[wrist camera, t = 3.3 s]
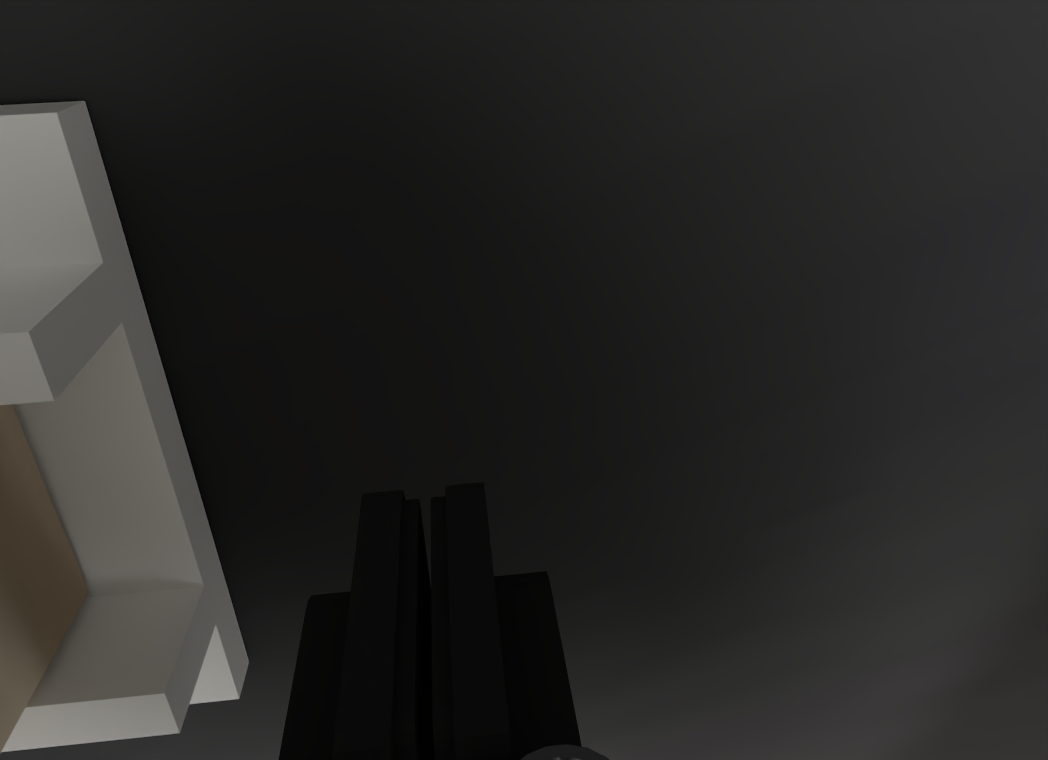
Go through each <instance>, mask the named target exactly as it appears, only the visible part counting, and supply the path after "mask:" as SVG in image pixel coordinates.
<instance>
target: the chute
mask: <svg viewBox="0 0 1048 760" xmlns="http://www.w3.org/2000/svg"><path fill="white" fill-rule="evenodd" d="M10 404H12V406H13V408H14V411H15V413H16V416H17V418H18V421H19V423H20V425H21V428H22V430H23V433H24V435H25V438H26V440H27V443H28V445H29V447H30V450H31V452H32V455H33V457H34V460H35V462H36V465H37V467H38V470H39V472H40V474H41V477H42V479H43V482H44V484H45V487H46V489H47V492H48V494H49V496H50V499H51V501H52V504H53V506H54V509H55V511H56V514H57V516H58V518H59V521H60V523H61V526H62V528H63V531H64V533H65V536H66V538H67V541H68V543H69V545H70V548H71V550H72V553H73V555H74V558H75V560H76V563H77V565H78V567H79V570H80V572H81V575H82V577H83V580H84V582H85V585H86V587H87V590H88V594H87V596H86V598H85V600H84V601H83V603H82V605H81V607H80V609H79V611H78V612H77V614H76V616H75V618H74V620H73V622H72V623H71V625H70V627H69V629H68V631H67V633H66V634H65V636H64V638H63V640H62V642H61V644H60V645H59V647H58V649H57V651H56V653H55V655H54V656H53V658H52V660H51V662H50V664H49V665H48V667H47V669H46V671H45V673H44V675H43V676H42V678H41V680H40V682H39V684H38V686H37V687H36V689H35V691H34V693H33V695H32V697H31V698H30V700H29V702H28V704H27V706H26V708H25V709H24V711H23V713H22V715H21V717H20V719H19V720H18V722H17V724H16V726H15V728H14V729H13V731H12V733H11V735H10V737H9V739H8V740H7V742H6V744H5V746H4V748H3V750H2V751H1V752H6V751H16V750H25V749H35V748H44V747H54V746H63V745H72V744H82V743H91V742H101V741H110V740H120V739H129V738H139V737H148V736H158V735H167V734H177V733H180V731H181V728H182V725H183V722H184V719H185V716H186V713H187V710H188V707H189V704H195V703H205V702H215V701H224V700H234V699H239V698H240V694H241V690H242V687H243V683H244V679H245V675H246V672H247V668H248V664H249V660H248V656H247V653H246V649H245V646H244V643H243V639H242V636H241V632H240V629H239V625H238V622H237V619H236V615H235V612H234V608H233V605H232V602H231V598H230V595H229V591H228V588H227V584H226V581H225V578H224V574H223V571H222V567H221V564H220V561H219V557H218V554H217V550H216V547H215V543H214V540H213V537H212V533H211V530H210V526H209V523H208V520H207V516H206V513H205V509H204V506H203V502H202V499H201V496H200V492H199V489H198V485H197V482H196V479H195V475H194V472H193V468H192V465H191V461H190V458H189V455H188V451H187V448H186V444H185V441H184V438H183V434H182V431H181V427H180V424H179V420H178V417H177V414H176V410H175V407H174V403H173V400H172V397H171V393H170V390H169V386H168V383H167V379H166V376H165V373H164V369H163V366H162V362H161V359H160V356H159V352H158V349H157V345H156V342H155V338H154V335H153V332H152V328H151V325H150V321H149V318H148V314H147V311H146V308H145V304H144V301H143V297H142V294H141V291H140V287H139V284H138V280H137V277H136V273H135V270H134V267H133V263H132V260H131V256H130V253H129V250H128V246H127V243H126V239H125V236H124V232H123V229H122V226H121V222H120V219H119V215H118V212H117V209H116V205H115V202H114V198H113V195H112V191H111V188H110V185H109V181H108V178H107V174H106V171H105V168H104V164H103V161H102V157H101V154H100V150H99V147H98V144H97V140H96V137H95V133H94V130H93V127H92V123H91V120H90V116H89V113H88V109H87V106H86V103H85V101H71V102H52V103H33V104H14V105H0V405H10Z"/></svg>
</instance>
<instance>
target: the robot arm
mask: <svg viewBox="0 0 1048 760" xmlns="http://www.w3.org/2000/svg"><path fill="white" fill-rule="evenodd" d="M445 489H446V496H445V497H435V498H431V587H430V579H429V571H428V563H427V555H426V547H425V539H424V531H423V523H422V516H421V508H420V501H419V499H414V500H405V496H404V492H403V490H398V491H387V492H377V493H366V494H363V497H362V503H361V511H360V520H359V528H358V537H357V545H356V553H355V562H354V570H353V579H352V587H351V592H342V593H332V594H322V595H313V596H311V597H310V599H309V601H308V605H307V608H306V613H305V619H304V624H303V630H302V635H301V640H300V646H299V651H298V657H297V662H296V668H295V673H294V679H293V684H292V690H291V695H290V700H289V706H288V711H287V717H286V722H285V728H284V733H283V739H282V744H281V750H280V755H279V760H609V759H608V758H607V757H605V756H603V755H601V754H599V753H597V752H595V751H593V750H591V749H589V748H586V747H582V746H581V741H580V736H579V730H578V725H577V720H576V715H575V710H574V705H573V700H572V694H571V689H570V684H569V679H568V674H567V669H566V663H565V658H564V653H563V648H562V643H561V638H560V632H559V627H558V622H557V617H556V612H555V607H554V601H553V596H552V591H551V586H550V581H549V577H548V574H547V571H545V572H535V573H526V574H516V575H506V576H497V577H494V574H493V565H492V555H491V546H490V536H489V527H488V518H487V508H486V499H485V489H484V482H483V483H473V484H462V485H451V486H446V487H445Z"/></svg>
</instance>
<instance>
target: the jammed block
mask: <svg viewBox="0 0 1048 760" xmlns="http://www.w3.org/2000/svg"><path fill="white" fill-rule="evenodd" d="M87 594H88V590H87V587H86V585H85V582H84V580H83V577H82V575H81V572H80V570H79V567H78V565H77V563H76V560H75V558H74V555H73V553H72V550H71V548H70V545H69V543H68V541H67V538H66V536H65V533H64V531H63V528H62V526H61V523H60V521H59V518H58V516H57V514H56V511H55V509H54V506H53V504H52V501H51V499H50V496H49V494H48V492H47V489H46V487H45V484H44V482H43V479H42V477H41V474H40V472H39V470H38V467H37V465H36V462H35V460H34V457H33V455H32V452H31V450H30V447H29V445H28V443H27V440H26V438H25V435H24V433H23V430H22V428H21V425H20V423H19V421H18V418H17V416H16V413H15V411H14V408H13V406H12V404H10V405H0V753H1V751H2V750H3V748H4V746H5V744H6V742H7V740H8V739H9V737H10V735H11V733H12V731H13V729H14V728H15V726H16V724H17V722H18V720H19V719H20V717H21V715H22V713H23V711H24V709H25V708H26V706H27V704H28V702H29V700H30V698H31V697H32V695H33V693H34V691H35V689H36V687H37V686H38V684H39V682H40V680H41V678H42V676H43V675H44V673H45V671H46V669H47V667H48V665H49V664H50V662H51V660H52V658H53V656H54V655H55V653H56V651H57V649H58V647H59V645H60V644H61V642H62V640H63V638H64V636H65V634H66V633H67V631H68V629H69V627H70V625H71V623H72V622H73V620H74V618H75V616H76V614H77V612H78V611H79V609H80V607H81V605H82V603H83V601H84V600H85V598H86V596H87Z"/></svg>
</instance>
